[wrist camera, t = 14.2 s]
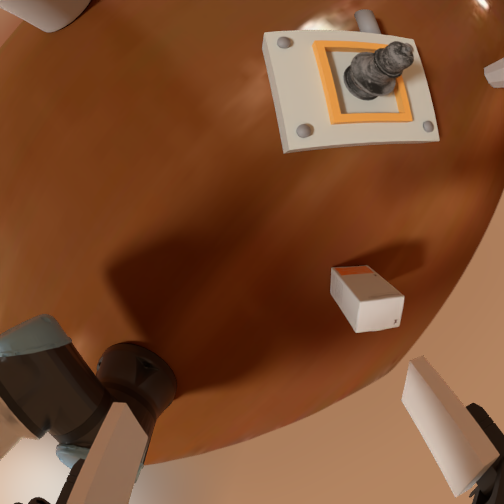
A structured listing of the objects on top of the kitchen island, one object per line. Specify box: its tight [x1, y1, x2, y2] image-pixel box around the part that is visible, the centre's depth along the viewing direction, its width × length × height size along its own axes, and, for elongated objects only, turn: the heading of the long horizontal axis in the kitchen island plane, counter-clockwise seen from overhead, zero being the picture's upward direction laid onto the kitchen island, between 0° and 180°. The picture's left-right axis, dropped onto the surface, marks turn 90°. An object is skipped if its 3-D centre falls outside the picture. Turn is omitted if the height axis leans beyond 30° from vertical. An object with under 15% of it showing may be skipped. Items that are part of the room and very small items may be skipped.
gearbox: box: [262, 10, 440, 153], centre depth 29 cm, size 22×21×6 cm
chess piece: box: [343, 41, 414, 101], centre depth 22 cm, size 6×6×12 cm
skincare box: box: [330, 265, 405, 333], centre depth 34 cm, size 6×4×12 cm
